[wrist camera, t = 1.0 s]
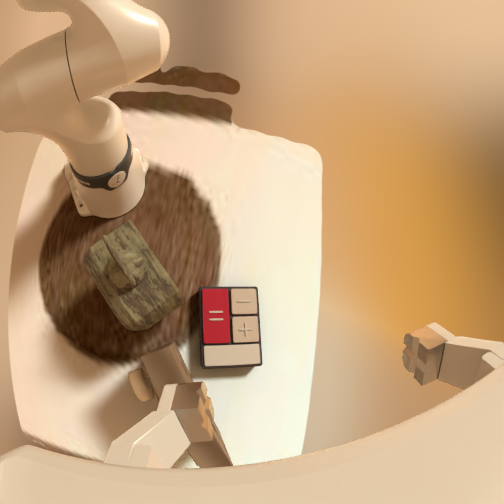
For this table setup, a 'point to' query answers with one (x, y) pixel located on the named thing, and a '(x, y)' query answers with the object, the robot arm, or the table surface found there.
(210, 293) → the calculator
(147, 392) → the button
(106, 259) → the tabletop clock
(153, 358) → the button panel
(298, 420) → the table surface
